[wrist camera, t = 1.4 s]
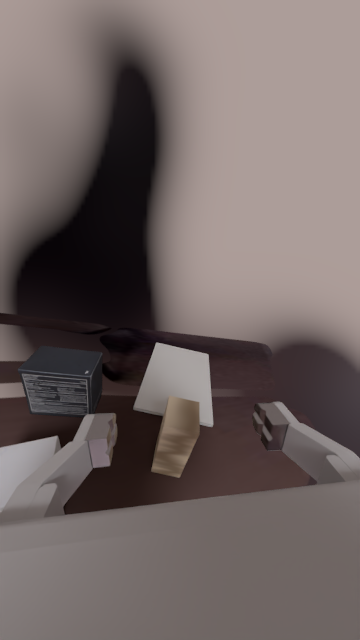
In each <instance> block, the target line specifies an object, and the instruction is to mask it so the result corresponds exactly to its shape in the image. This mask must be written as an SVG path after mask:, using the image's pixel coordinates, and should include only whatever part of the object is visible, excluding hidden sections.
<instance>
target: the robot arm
mask: <svg viewBox="0 0 360 640" xmlns="http://www.w3.org/2000/svg"><path fill="white" fill-rule="evenodd" d="M254 410H255V411H256V412H255V413H254V414H253V418H252V421H253V426H254V429H255V430H256V432H257V433H258V434H259V435H261V441H262V443H263V445H264V446H265V448H266V450H267V451H274V450H282V451H283V452H284V453H285V454H286V455H287V456H288V457H290V458H291V459H292V460H293V461H294V462H295V463H297V464H298V465H299V466H300V467H301V468H302V469H304V470H305V471H306V472H307V473H308V474H309V475H311V476H312V477H313V478H314V479H315V480H316V481H317V484H316V485H311V486H303V487H295V488H286V489H278V490H270V491H261V492H253V493H245V494H237V495H228V496H220V497H212V498H203V499H195V500H186V501H178V502H170V503H161V504H153V505H144V506H136V507H128V508H119V509H111V510H103V511H94V512H86V513H77V514H69V515H65V513H64V509H63V506H64V505H65V503H66V502H67V501H68V500H69V498H70V497H71V496H72V495H73V493H74V492H75V491H76V489H77V488H78V487H79V486H80V484H81V483H82V482H83V481H84V479H85V478H86V477H87V475H88V474H89V473H90V472H91V470H92V468H97V467H105V466H110V464H111V460H112V456H113V446H114V445H115V444H116V439H117V424H116V423H115V421H116V414H115V413H101V414H87V415H86V416H85V417H84V419H83V421H82V423H81V425H80V427H79V429H78V431H77V433H76V435H75V438H74V440H73V442H69V443H68V444H66V445H65V446H64V447H63V448H62V449H61V450H59V451H58V452H57V453H56V454H55V455H53V456H52V457H51V458H50V459H49V460H48V461H46V462H45V463H44V464H43V465H42V466H40V467H39V468H38V469H37V470H36V471H34V472H33V473H32V474H31V475H30V476H29V477H27V478H26V479H25V480H24V481H23V482H21V483H20V484H19V485H18V486H17V487H16V489H15V491H14V492H13V494H12V495H11V497H10V499H9V500H8V502H7V503H6V505H5V507H4V508H3V510H2V511H1V513H0V640H360V458H359V457H358V456H357V455H356V454H355V453H353V452H352V451H350V450H349V449H347V448H345V447H343V446H341V445H340V444H338V443H336V442H334V441H333V440H331V439H329V438H327V437H326V436H324V435H322V434H320V433H318V432H317V431H315V430H313V429H311V428H310V427H308V426H306V425H304V424H303V423H299V422H298V421H297V420H296V418H295V417H294V416H293V415H292V414H291V413H290V411H289V410H288V409H287V408H286V407H285V406H284V405H283V403H281V402H272V403H271V402H270V403H257V404H255V406H254Z"/></svg>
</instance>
